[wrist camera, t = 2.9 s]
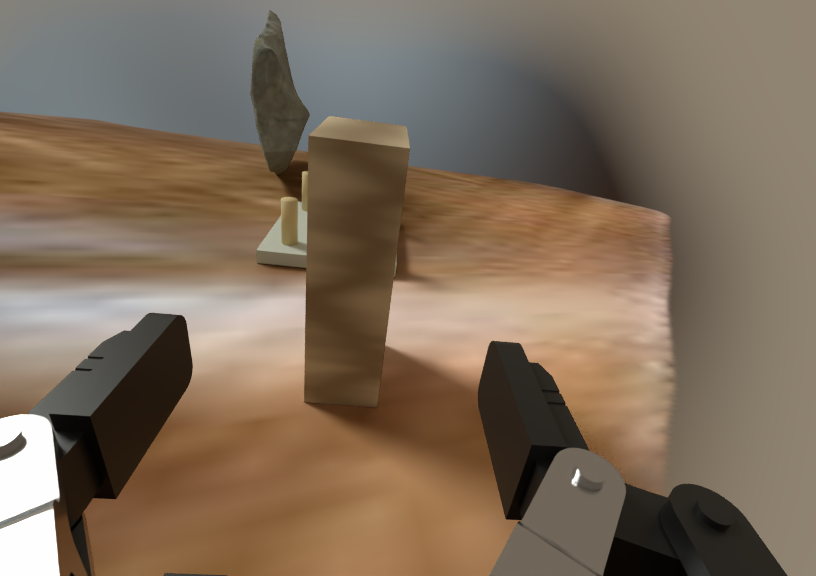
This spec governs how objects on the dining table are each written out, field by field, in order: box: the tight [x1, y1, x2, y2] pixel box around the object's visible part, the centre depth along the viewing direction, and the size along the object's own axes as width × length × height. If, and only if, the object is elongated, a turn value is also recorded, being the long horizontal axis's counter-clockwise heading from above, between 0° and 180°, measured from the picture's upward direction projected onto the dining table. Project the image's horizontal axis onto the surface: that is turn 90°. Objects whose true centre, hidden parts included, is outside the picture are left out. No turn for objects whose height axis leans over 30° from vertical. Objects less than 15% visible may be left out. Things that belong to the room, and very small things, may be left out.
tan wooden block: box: [304, 116, 410, 408], centre depth 23 cm, size 4×6×14 cm, turn 1°
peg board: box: [256, 171, 397, 277], centre depth 42 cm, size 12×14×5 cm
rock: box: [250, 10, 309, 175], centre depth 56 cm, size 27×6×20 cm, turn 18°
